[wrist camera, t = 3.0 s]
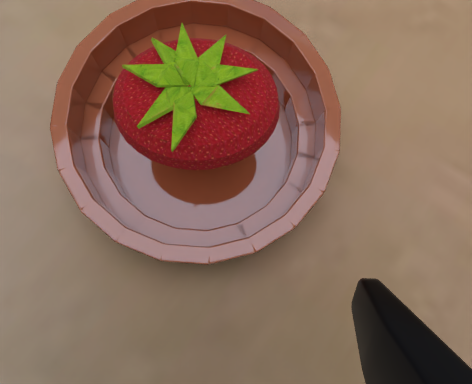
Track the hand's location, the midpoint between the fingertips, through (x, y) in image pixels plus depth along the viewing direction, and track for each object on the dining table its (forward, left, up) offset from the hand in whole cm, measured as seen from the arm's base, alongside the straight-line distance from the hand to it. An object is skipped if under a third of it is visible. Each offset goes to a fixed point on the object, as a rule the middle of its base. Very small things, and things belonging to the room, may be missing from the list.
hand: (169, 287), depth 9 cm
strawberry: (+6, -4, -13) cm, 15 cm away
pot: (+6, -4, -13) cm, 15 cm away
